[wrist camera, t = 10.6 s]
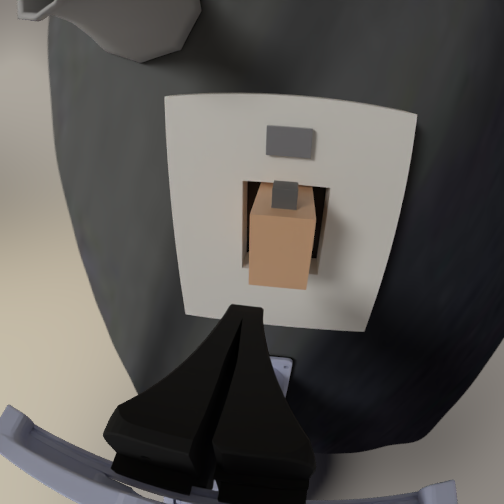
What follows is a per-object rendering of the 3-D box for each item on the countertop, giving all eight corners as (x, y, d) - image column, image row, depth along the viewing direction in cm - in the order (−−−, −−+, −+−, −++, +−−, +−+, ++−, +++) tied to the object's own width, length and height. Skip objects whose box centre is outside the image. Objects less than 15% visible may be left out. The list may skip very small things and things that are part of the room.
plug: (305, 234, 21) (306, 290, 16) (261, 231, 21) (248, 284, 16) (312, 163, 18) (318, 199, 13) (264, 160, 18) (250, 193, 13)
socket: (360, 314, 24) (364, 335, 22) (192, 298, 25) (184, 317, 23) (405, 111, 15) (419, 115, 13) (177, 94, 17) (161, 97, 15)
